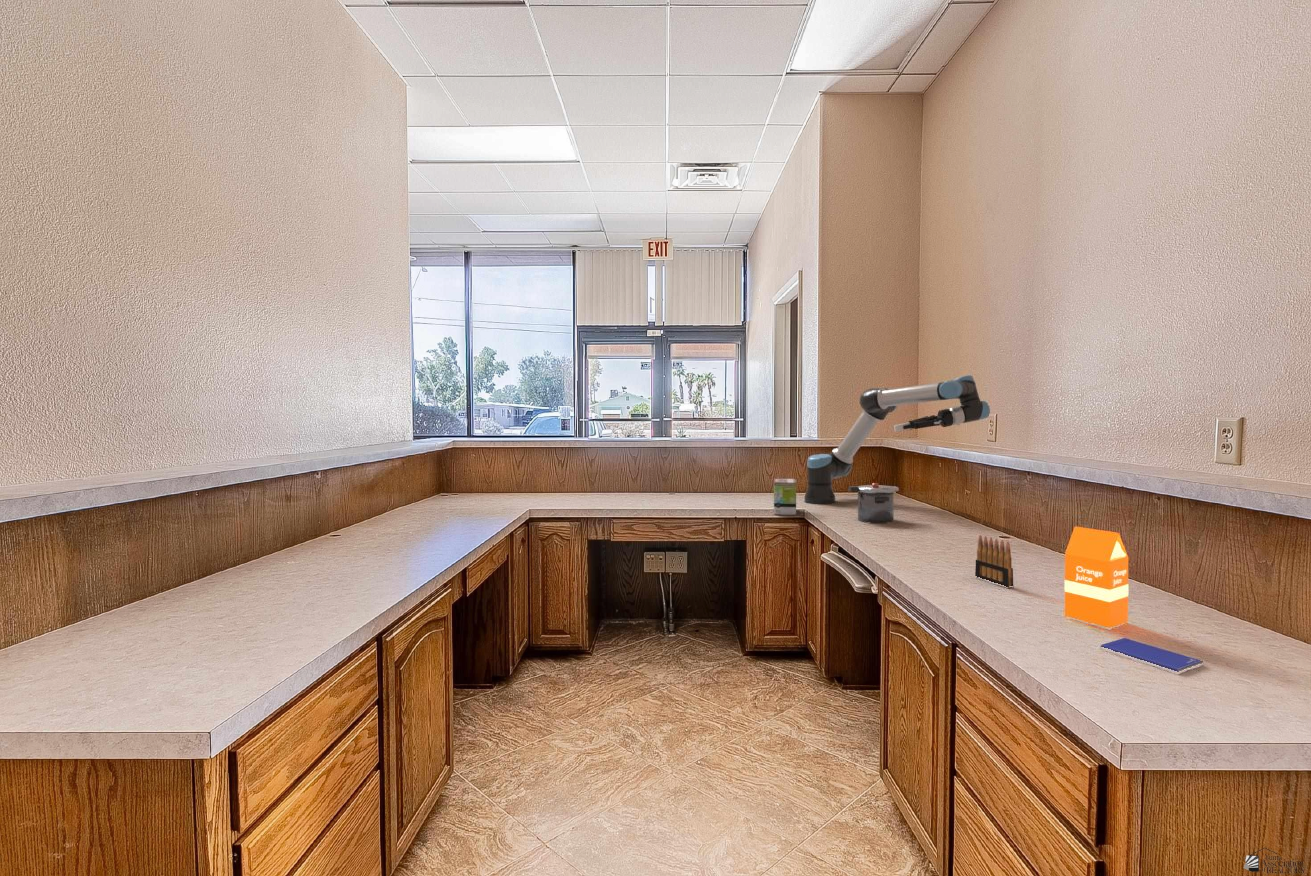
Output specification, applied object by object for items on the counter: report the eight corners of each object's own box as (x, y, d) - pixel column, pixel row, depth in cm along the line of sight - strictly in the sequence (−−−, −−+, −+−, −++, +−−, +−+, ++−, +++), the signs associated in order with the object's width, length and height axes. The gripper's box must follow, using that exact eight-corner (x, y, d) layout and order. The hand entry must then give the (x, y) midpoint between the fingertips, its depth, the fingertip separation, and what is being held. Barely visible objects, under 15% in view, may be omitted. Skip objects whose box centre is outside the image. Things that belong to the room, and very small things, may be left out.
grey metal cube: (852, 516, 259) (852, 488, 258) (885, 515, 258) (885, 488, 257) (865, 524, 241) (864, 494, 240) (900, 523, 240) (900, 494, 240)
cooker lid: (845, 489, 257) (844, 481, 257) (890, 488, 256) (890, 480, 256) (855, 494, 242) (854, 486, 242) (903, 493, 241) (903, 485, 241)
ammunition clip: (974, 577, 164) (974, 534, 164) (980, 577, 165) (980, 533, 164) (1008, 588, 154) (1008, 542, 154) (1013, 587, 155) (1013, 541, 154)
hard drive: (1203, 659, 107) (1125, 636, 119) (1177, 668, 104) (1100, 644, 115) (1203, 668, 107) (1125, 644, 119) (1177, 677, 104) (1100, 652, 115)
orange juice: (1083, 611, 136) (1083, 524, 135) (1128, 623, 128) (1129, 530, 127) (1063, 618, 132) (1064, 528, 131) (1109, 630, 124) (1110, 535, 124)
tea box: (797, 515, 266) (796, 481, 265) (773, 514, 268) (773, 482, 267) (795, 509, 280) (795, 477, 280) (774, 509, 282) (773, 478, 282)
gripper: (958, 427, 251) (901, 439, 253) (945, 423, 263) (891, 434, 265) (955, 410, 250) (898, 422, 252) (942, 406, 262) (888, 418, 264)
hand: (894, 428), depth 259 cm, fingers closed
